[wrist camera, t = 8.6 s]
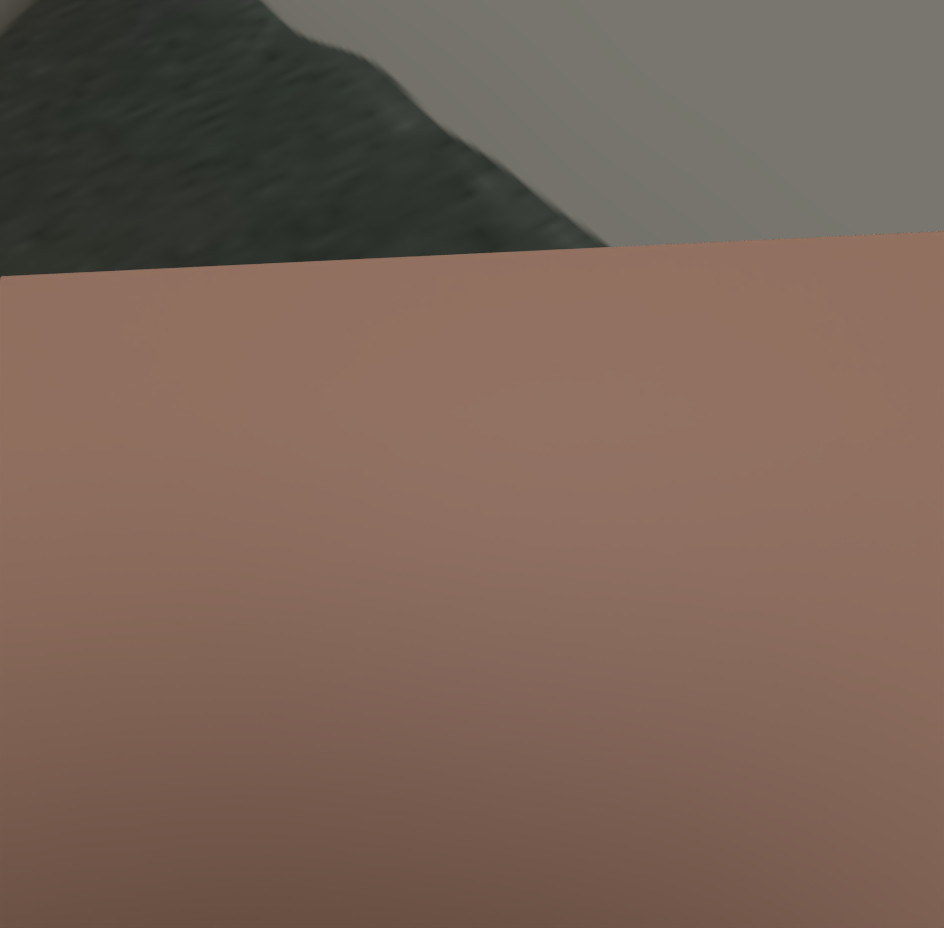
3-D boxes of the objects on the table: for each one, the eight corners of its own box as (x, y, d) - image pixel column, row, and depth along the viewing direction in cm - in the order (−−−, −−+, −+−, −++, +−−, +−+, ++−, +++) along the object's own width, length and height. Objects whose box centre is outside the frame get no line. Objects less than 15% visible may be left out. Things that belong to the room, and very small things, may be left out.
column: (658, 818, 14) (1242, 1894, 2) (424, 800, 15) (-316, 1461, 3) (651, 576, 15) (947, 232, 3) (437, 572, 16) (2, 275, 4)
